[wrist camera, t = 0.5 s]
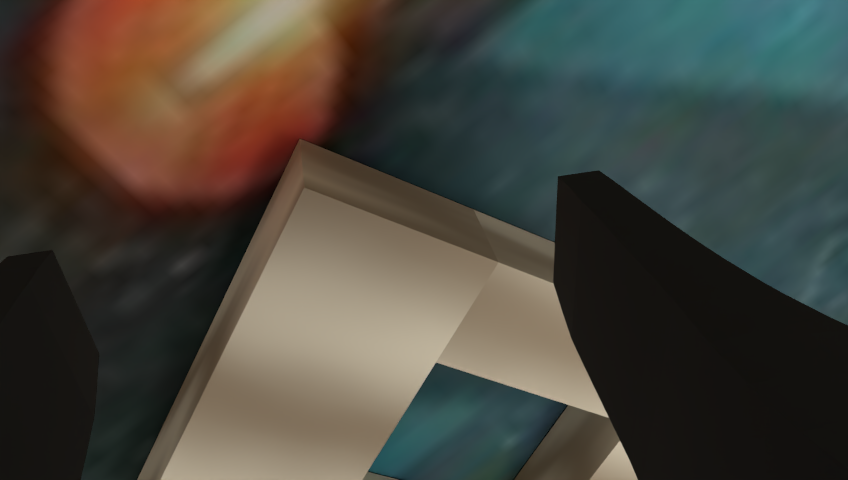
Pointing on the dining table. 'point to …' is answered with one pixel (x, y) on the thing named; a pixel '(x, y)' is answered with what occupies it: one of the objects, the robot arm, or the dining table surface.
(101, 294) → the dining table surface
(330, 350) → the dock
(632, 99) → the dining table surface
